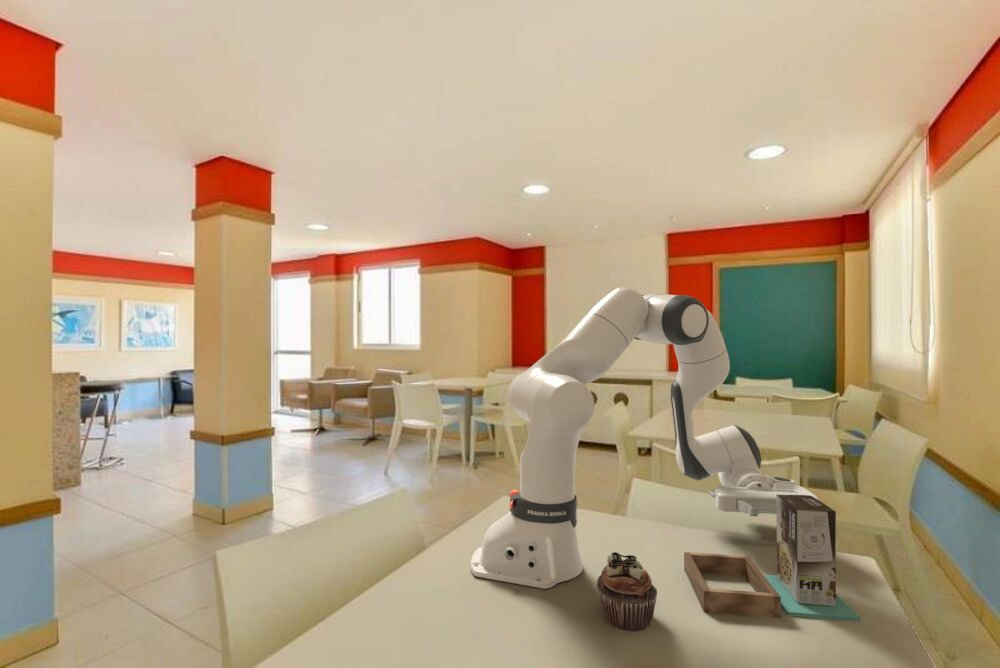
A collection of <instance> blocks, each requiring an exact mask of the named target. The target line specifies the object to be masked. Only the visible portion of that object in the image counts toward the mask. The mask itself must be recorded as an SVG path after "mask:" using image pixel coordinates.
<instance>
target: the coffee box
mask: <svg viewBox="0 0 1000 668" xmlns="http://www.w3.org/2000/svg"><path fill="white" fill-rule="evenodd" d="M819 500H820V499H819ZM819 500H817V499H816V498H814V497H812V496H810V495H776V507H777V514H776V559H777V560H776V561H777V562H776V567H777V569H776V571H777V572H776V576H777V579H778V580H779V581H780V583H781V584H782V585H783V586H784V587H785V588H786V590H787V591H788V592H789V593H790V594H791V596H792V597H793V598H794V599H795V600H796V602H797V603H803V604H814V605H824V606H836V594H837V572H836V571H837V569H836V567H837V566H836V565H837V563H836V561H837V558H836V557H837V551H836V550H837V547H836V546H837V541H836V540H837V537H836V534H837V533H836V532H837V531H836V530H837V523H836V522H837V519H836V518H837V516H836V515H837V511H836V510H834V509H833V508H831V507H829V506H828V505H827V504H825V503H824V502H822V501H819Z"/></svg>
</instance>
